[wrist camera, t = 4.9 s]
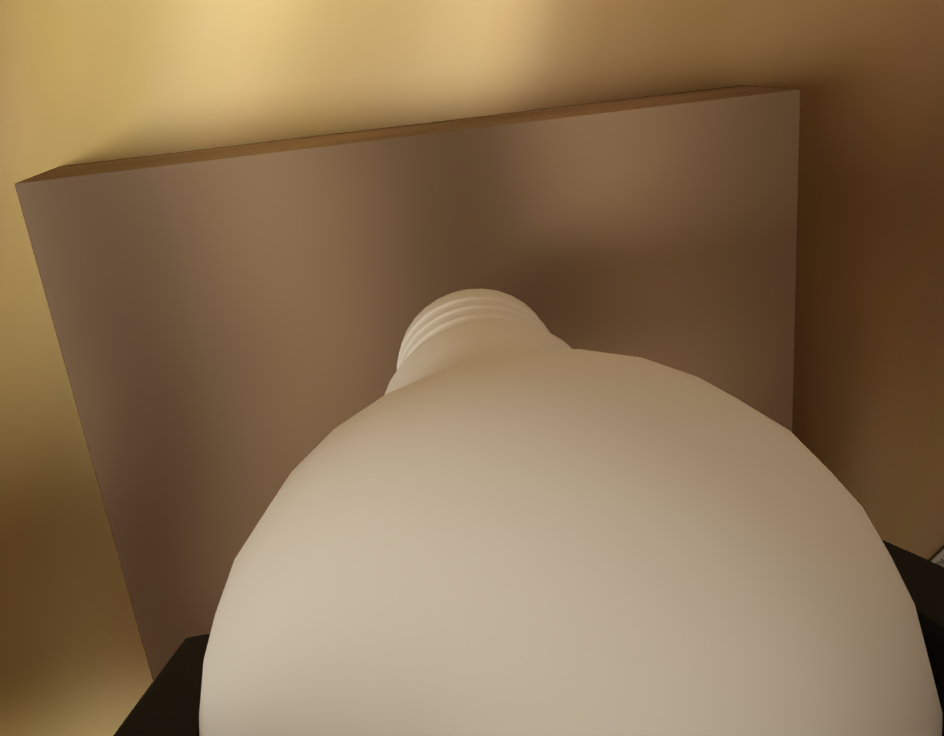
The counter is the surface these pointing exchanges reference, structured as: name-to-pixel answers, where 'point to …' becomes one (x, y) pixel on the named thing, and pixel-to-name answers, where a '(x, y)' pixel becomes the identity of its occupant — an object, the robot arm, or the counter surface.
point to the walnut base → (390, 291)
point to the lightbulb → (561, 562)
